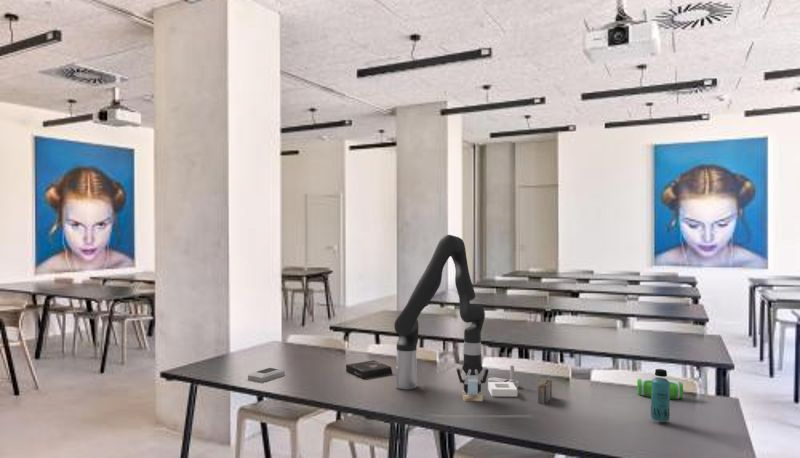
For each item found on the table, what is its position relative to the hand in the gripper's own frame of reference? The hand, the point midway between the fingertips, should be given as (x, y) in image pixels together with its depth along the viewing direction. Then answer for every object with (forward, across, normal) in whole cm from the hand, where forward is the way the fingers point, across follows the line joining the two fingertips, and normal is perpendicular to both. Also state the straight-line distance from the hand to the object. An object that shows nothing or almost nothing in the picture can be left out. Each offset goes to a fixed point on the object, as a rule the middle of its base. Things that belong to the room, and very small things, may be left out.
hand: (472, 392), depth 238 cm
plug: (+2, 0, 0) cm, 2 cm away
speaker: (+4, +82, +7) cm, 82 cm away
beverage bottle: (+4, +68, -25) cm, 73 cm away
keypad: (+4, -96, +33) cm, 102 cm away
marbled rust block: (+4, +31, +1) cm, 31 cm away
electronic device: (+4, +17, +23) cm, 29 cm away
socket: (+3, +14, +8) cm, 16 cm away
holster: (+3, 0, 0) cm, 3 cm away
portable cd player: (+4, -47, +43) cm, 64 cm away
